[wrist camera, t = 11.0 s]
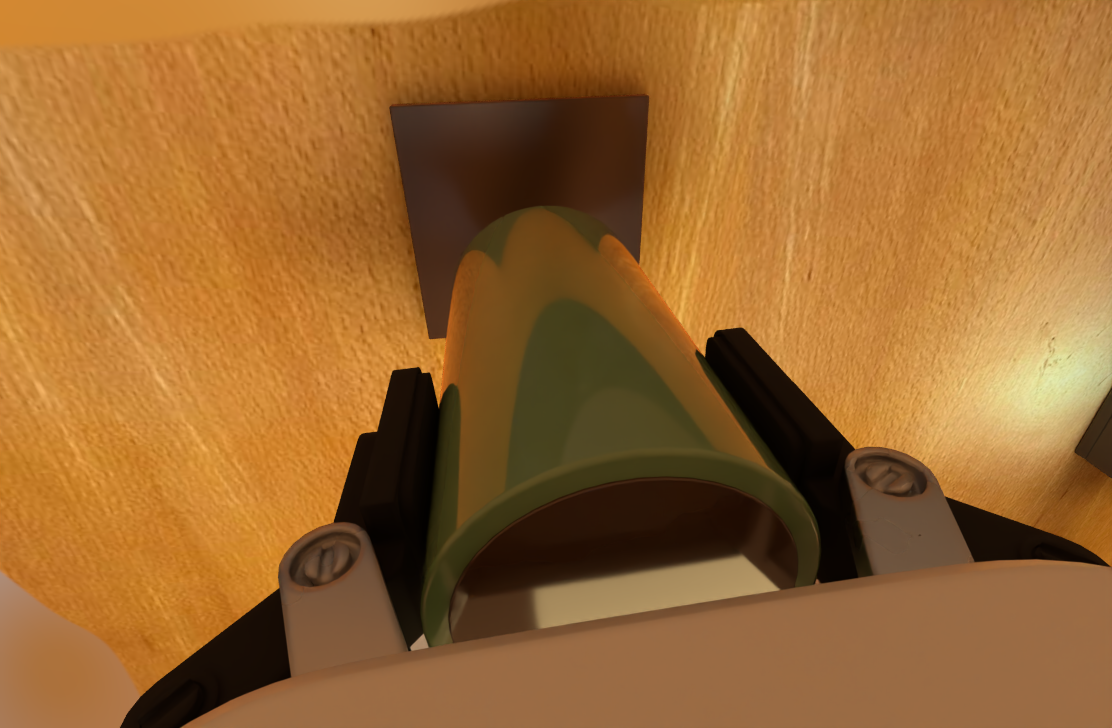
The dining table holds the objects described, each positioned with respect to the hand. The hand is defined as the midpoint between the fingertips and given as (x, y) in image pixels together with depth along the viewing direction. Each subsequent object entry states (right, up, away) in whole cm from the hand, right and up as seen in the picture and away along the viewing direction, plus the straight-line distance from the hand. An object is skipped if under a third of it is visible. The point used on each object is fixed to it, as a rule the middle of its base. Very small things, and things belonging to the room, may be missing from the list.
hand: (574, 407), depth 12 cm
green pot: (-1, +3, +5) cm, 6 cm away
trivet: (-2, +7, +12) cm, 14 cm away
